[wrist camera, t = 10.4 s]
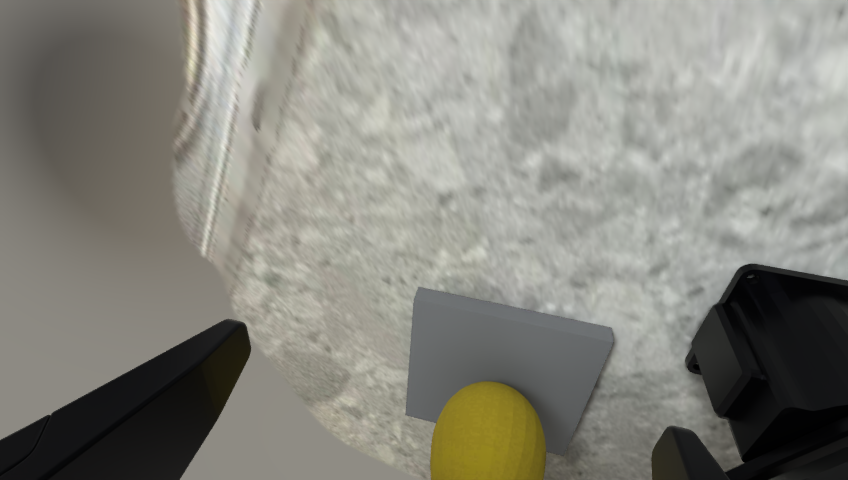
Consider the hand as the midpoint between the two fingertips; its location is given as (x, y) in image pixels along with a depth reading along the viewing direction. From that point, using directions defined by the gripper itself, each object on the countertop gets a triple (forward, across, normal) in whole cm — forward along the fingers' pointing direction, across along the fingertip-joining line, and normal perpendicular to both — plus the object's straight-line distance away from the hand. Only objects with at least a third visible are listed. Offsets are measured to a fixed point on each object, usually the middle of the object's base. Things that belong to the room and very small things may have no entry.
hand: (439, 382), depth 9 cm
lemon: (+11, -2, +13) cm, 17 cm away
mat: (+12, -2, +13) cm, 18 cm away
